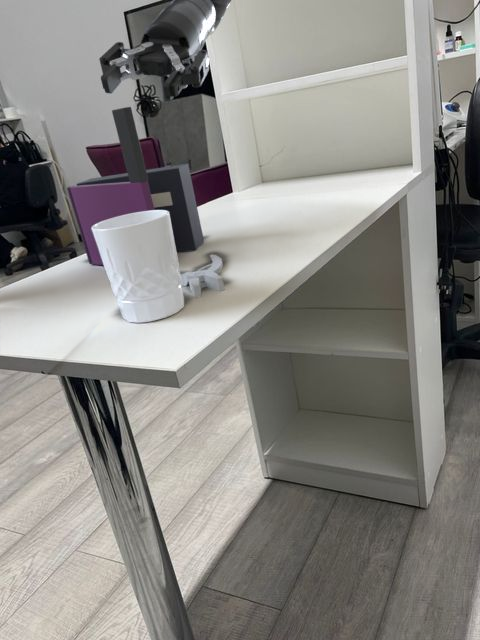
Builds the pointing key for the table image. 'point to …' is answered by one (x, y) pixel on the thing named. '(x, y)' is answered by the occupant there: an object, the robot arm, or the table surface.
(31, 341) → the table surface
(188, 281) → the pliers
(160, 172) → the file box
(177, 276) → the white cup
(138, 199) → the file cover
